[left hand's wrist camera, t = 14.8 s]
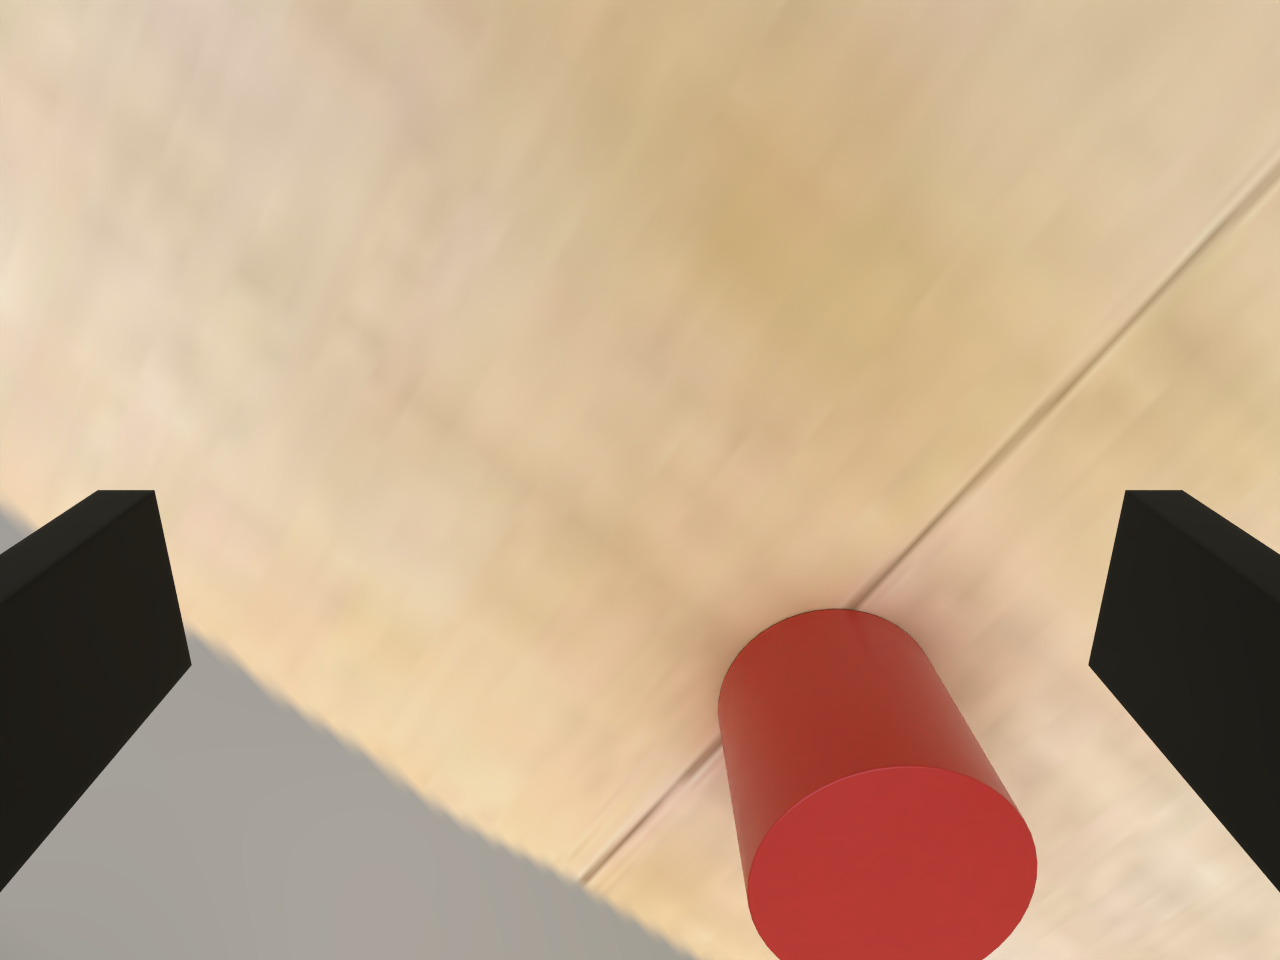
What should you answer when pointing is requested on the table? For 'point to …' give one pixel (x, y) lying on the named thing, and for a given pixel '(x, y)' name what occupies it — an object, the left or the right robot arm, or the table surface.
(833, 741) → the canister
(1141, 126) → the table surface
